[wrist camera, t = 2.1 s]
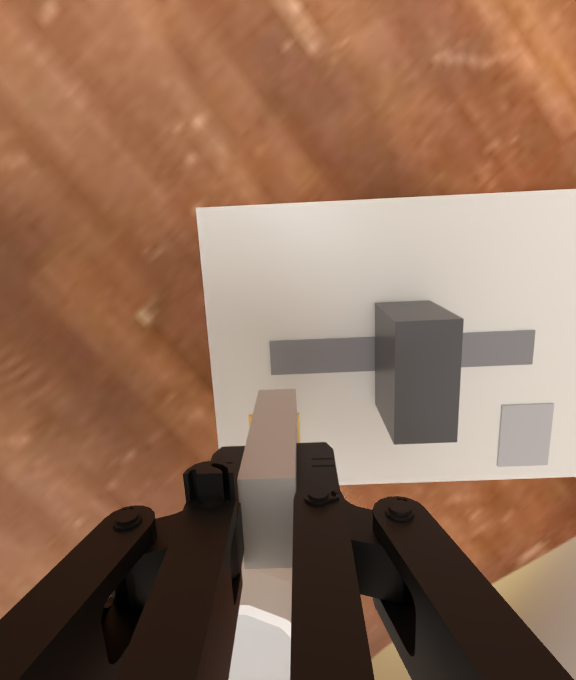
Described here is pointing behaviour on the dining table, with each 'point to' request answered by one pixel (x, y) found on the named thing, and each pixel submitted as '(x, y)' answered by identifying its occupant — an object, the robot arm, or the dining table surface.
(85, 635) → the robot arm
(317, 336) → the switch panel
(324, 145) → the dining table surface
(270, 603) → the foam cup
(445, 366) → the knob
